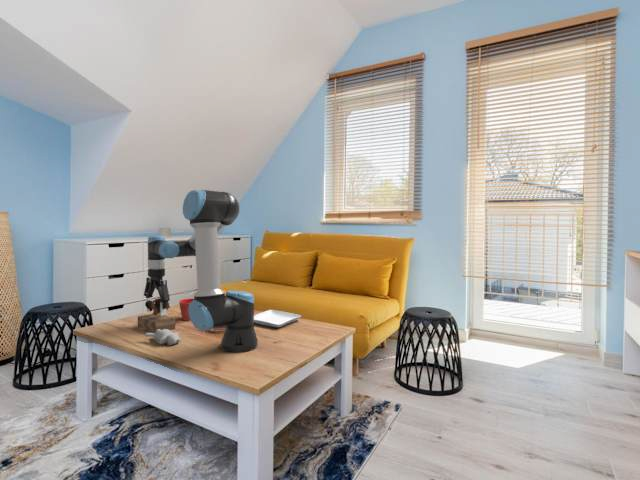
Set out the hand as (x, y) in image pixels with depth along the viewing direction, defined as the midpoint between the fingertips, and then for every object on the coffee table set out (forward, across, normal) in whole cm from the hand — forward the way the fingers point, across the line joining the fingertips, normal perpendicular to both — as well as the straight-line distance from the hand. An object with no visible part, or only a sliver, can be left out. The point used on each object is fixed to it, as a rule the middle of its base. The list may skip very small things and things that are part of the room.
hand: (156, 313), depth 180 cm
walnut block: (+7, 0, 0) cm, 7 cm away
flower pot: (+7, +2, -20) cm, 21 cm away
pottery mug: (0, +1, -1) cm, 1 cm away
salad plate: (+8, -36, -45) cm, 58 cm away
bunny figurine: (+7, -22, +9) cm, 25 cm away
